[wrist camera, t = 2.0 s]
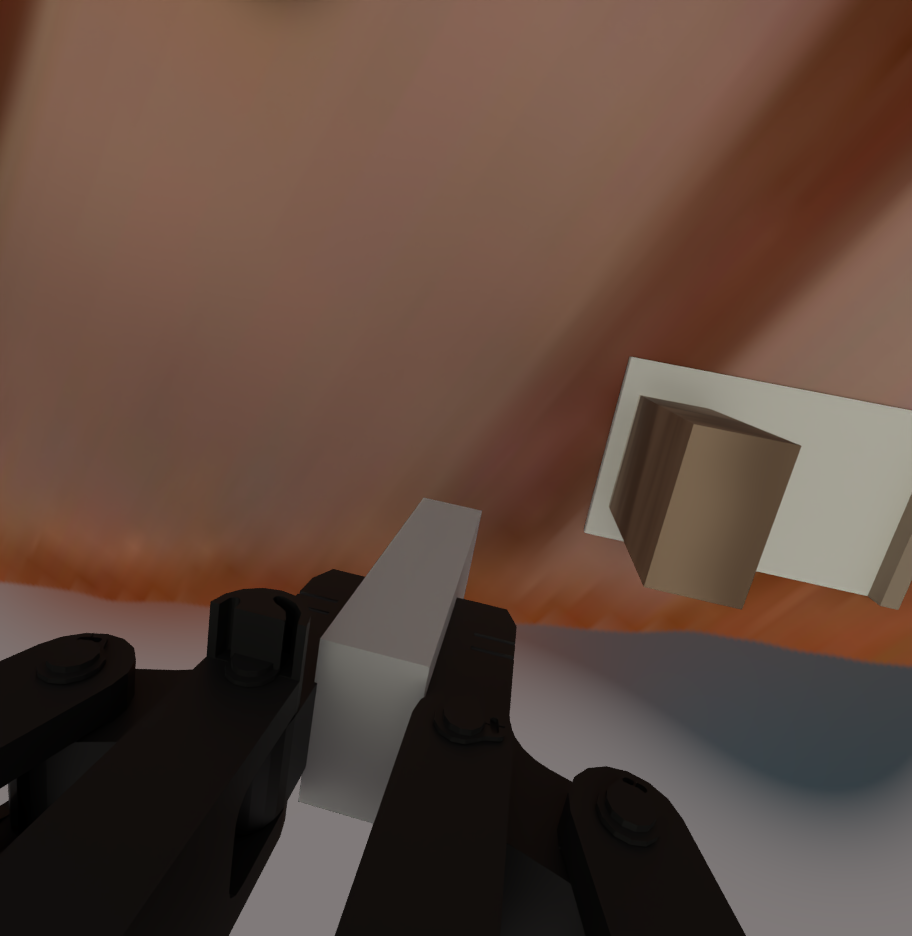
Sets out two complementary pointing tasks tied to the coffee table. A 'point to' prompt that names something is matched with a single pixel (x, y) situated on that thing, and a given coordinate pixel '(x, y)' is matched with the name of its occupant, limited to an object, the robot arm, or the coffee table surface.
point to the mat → (800, 476)
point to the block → (698, 498)
